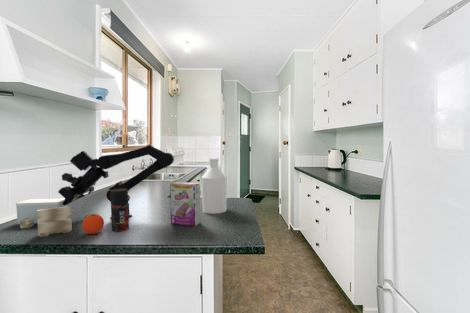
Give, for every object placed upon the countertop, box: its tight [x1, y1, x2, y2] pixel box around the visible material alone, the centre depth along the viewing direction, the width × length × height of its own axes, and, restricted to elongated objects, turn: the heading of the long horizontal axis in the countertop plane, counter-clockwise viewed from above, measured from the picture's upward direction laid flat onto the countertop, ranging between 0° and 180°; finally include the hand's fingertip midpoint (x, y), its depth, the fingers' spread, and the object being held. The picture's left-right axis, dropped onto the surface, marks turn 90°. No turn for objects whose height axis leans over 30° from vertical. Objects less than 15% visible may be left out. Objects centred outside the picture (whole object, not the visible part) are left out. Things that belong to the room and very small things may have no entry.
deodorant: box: [109, 188, 130, 233], centre depth 95 cm, size 6×6×15 cm
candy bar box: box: [169, 181, 201, 227], centre depth 101 cm, size 11×5×16 cm, turn 71°
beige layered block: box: [37, 205, 73, 238], centre depth 92 cm, size 10×5×9 cm, turn 126°
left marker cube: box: [19, 218, 35, 229], centre depth 99 cm, size 3×3×3 cm
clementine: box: [81, 213, 105, 235], centre depth 91 cm, size 8×7×7 cm
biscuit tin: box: [15, 197, 69, 225], centre depth 107 cm, size 16×7×9 cm, turn 95°
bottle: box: [201, 157, 228, 215], centre depth 120 cm, size 12×12×25 cm
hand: (63, 204), depth 107 cm, fingers closed, pressing on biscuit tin
